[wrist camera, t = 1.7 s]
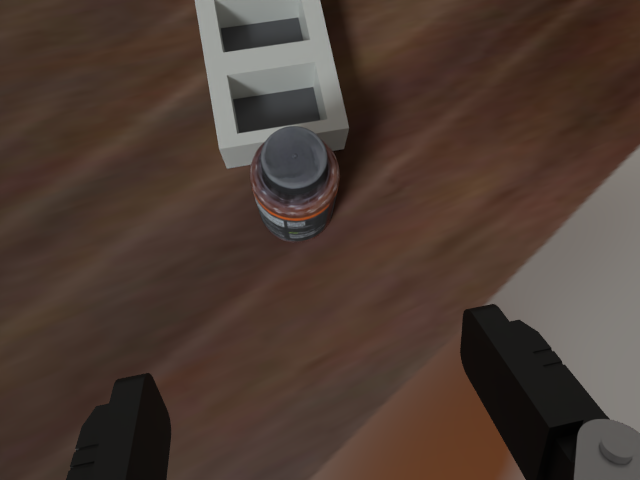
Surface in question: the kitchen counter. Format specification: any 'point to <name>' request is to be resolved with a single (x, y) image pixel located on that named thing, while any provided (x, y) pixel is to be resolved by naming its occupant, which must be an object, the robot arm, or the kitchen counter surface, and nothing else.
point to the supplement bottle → (295, 183)
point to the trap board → (269, 73)
